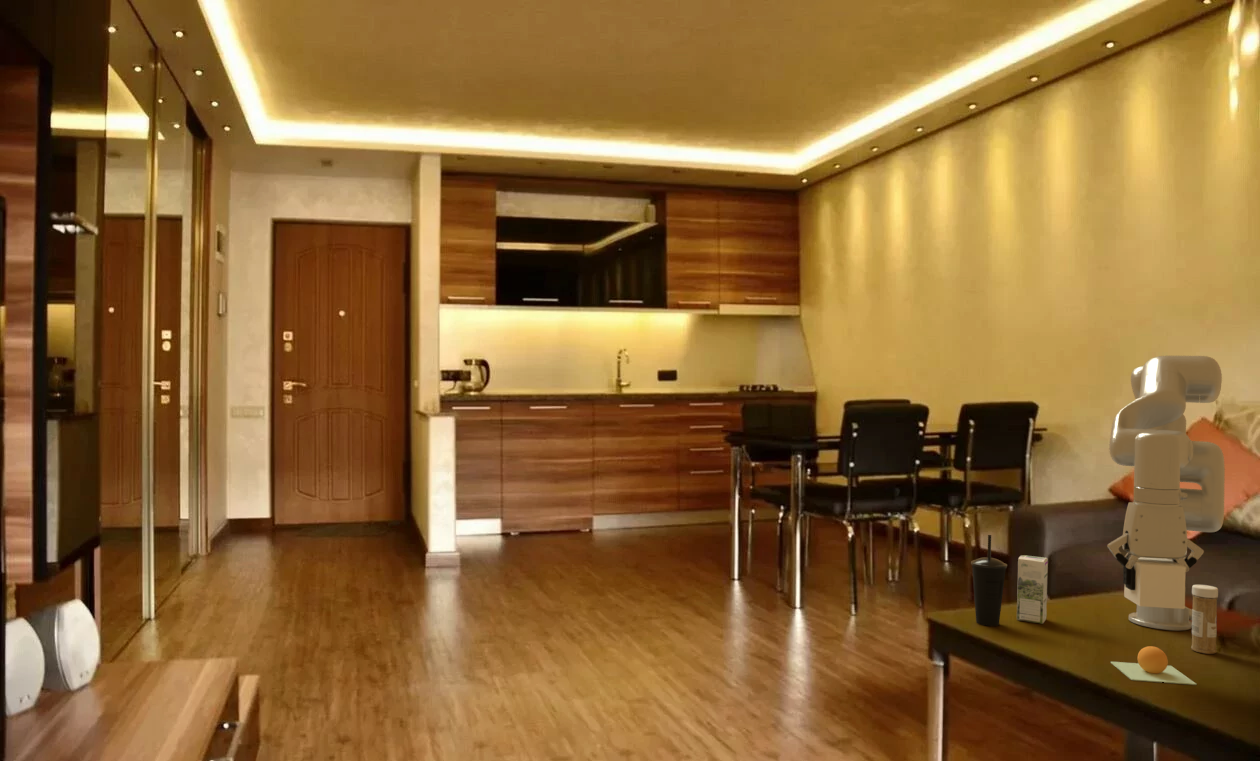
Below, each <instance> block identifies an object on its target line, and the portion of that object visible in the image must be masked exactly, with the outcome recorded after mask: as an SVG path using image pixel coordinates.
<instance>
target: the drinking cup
mask: <svg viewBox="0 0 1260 761" xmlns="http://www.w3.org/2000/svg"><path fill="white" fill-rule="evenodd" d="M991 555H992V535H991V534H988V535H987V556H986V557H985V556H984V557H980V558H976V559H973V560H971V561H970V564H971V567H972V578H973V593H974V594H973V595H974V610H975V622H976V624H979V625H982V626H987V627H997V626H999V625H1000V621H1001V620H1000V617H1001V610H1002V602H1003V593H1004V586H1005V577H1006V570H1007V568H1008V564H1007V563H1004V562H1003V561H1002V560H999V559H997V558H994V557H992V556H991Z"/></svg>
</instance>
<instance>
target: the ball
mask: <svg viewBox="0 0 1260 761" xmlns="http://www.w3.org/2000/svg"><path fill="white" fill-rule="evenodd" d="M1137 663H1139V665H1140V667H1141V668H1142V669H1143V670H1145V671H1146V672H1148V673H1153V674H1158V673H1161V672H1163V671H1164V670H1165V669H1166V668H1167V666H1169V665H1168V664H1169V660H1168V656H1167V655H1166V653H1165V652H1164V651H1163V650H1162V649H1161V648H1159V647H1157V646H1152V645H1151V646H1149V645H1148V646H1145V647H1143V648H1141V649H1140V650H1139V652H1138V654H1137Z"/></svg>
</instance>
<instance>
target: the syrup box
mask: <svg viewBox="0 0 1260 761" xmlns="http://www.w3.org/2000/svg"><path fill="white" fill-rule="evenodd" d="M1017 560H1018V561H1017V593H1016V596H1017V597H1016V598H1017V600H1016V601H1017V602H1016V620H1017V621H1021V622H1029V623H1034V624H1036V623H1037V624H1044V623H1045V621H1046V620H1047V598H1048V595H1047V593H1048V569H1049V567H1048V566H1049V561H1048V560H1049V559H1048V557H1043V556H1042V557H1041V556H1034V555H1033V556H1032V555H1025V554H1024V555H1022V554H1021V555H1020V556H1019V557H1018V559H1017Z"/></svg>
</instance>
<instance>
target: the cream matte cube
mask: <svg viewBox="0 0 1260 761" xmlns="http://www.w3.org/2000/svg"><path fill="white" fill-rule="evenodd" d="M1133 569H1135V571H1136V575H1135V590H1130V589H1128V588H1126V586H1125V585H1124V587H1123V591H1124V593H1123V596H1124V598H1126V599H1127V600H1129V601H1130V602H1132V603H1134V604H1136V606H1137V605H1139V606H1144V607H1160V608H1177V609H1185V606H1186V587H1185V575H1186V576H1187V572H1186V567H1185V566H1183V565H1181V564H1178V563H1176V562H1173V561H1172V560H1170V559H1162V558H1143V557H1140V558H1139V559H1138V560H1137V562H1136V563H1135V565H1134V566H1133Z"/></svg>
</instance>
